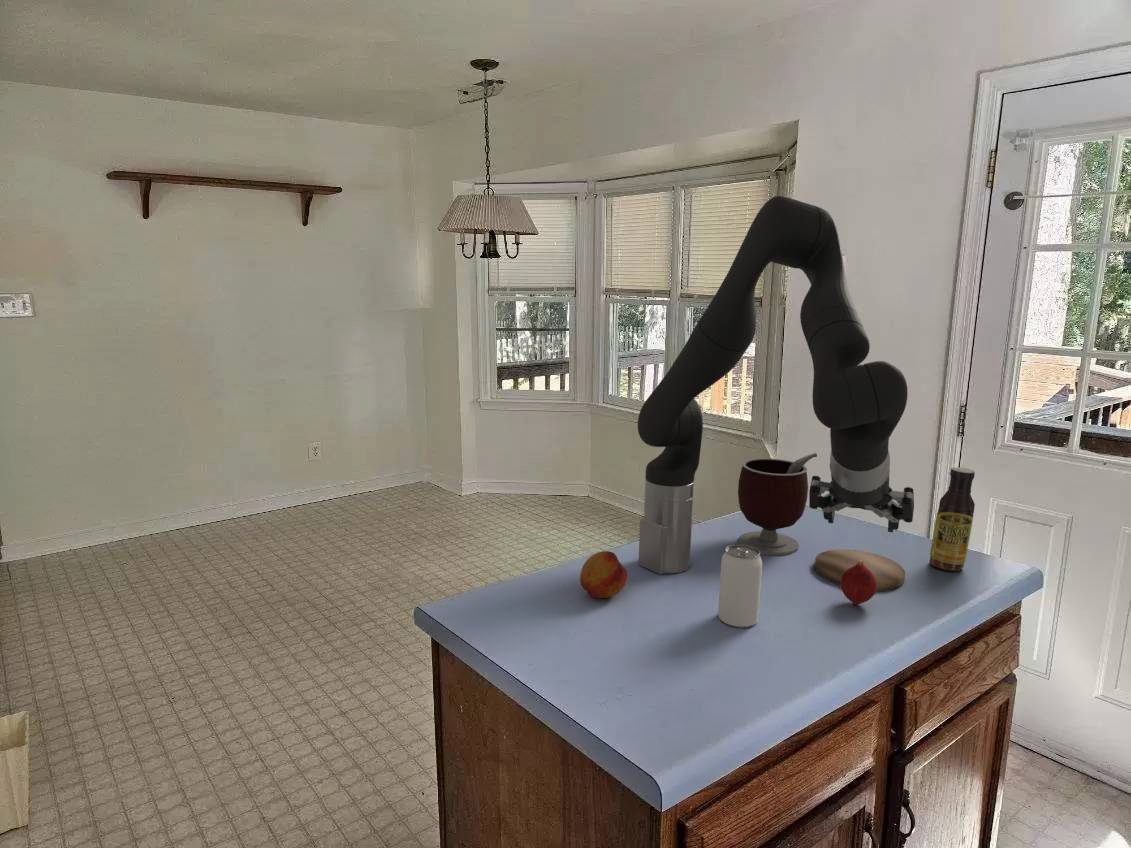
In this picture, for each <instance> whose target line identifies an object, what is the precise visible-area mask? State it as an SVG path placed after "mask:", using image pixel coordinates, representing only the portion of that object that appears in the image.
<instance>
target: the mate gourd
mask: <svg viewBox="0 0 1131 848" xmlns="http://www.w3.org/2000/svg"><path fill="white" fill-rule="evenodd" d="M817 457H818V455H817V452H813V453H810V454H807V455H804V456H803V457H800V458H798V459H796V460H795V461H793V460H792V461H791V460H786V459H780V458H766V457H764V458H763V457H762V458H751V459H747V460H745V461H743V462H742V467H741V469H740V474H739V478H738V488H737V497H738V506H739V509H740V511H741V513H742V515H743V516H744V517H745V519H746V520H747V522H749V523H750V524H753V525H755V526H758V527H760V528H762V530H761V531H759V530H758V531H757V530H755V531H747V532H745V533H742V534H740V535H739V537H738V545H747V546H751V547H754V548H756V549H758V550H759V551H760V555H767V556H776V557H777V556H779V557H780V555H782V556H789V555H793V554H795V553H797V552H798V551H797V550H799V549H798V548H799V547H800V544H799V542H798V540H796V539H795V538H793V537H791V536H789V535H786V534H783V533H778V532H777V530H781V529H784V528H790V527H792V526H794V525H795V524H796V523H797V522H798V521H799V520H800V518H802V516H803V515H804V511H805V509H806V505H807V502H808V501H807V500H808V495H809V481H808V473H807V472H808V469H807V467H806V466H805V465H806V463H808V462H809V461H810V460H811V459H813V458H817ZM796 551H797V552H796ZM794 552H795V553H794ZM792 553H793V554H792Z"/></svg>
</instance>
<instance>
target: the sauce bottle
mask: <svg viewBox="0 0 1131 848" xmlns="http://www.w3.org/2000/svg"><path fill="white" fill-rule="evenodd" d="M949 475H950V479H949V486H948V488H947V489H948V490H947V491H946V492H945V493H944V494H943V495H942V497H941V498H940V500H939V505H938V508H937V509H938V510H937V513H936V516H935V517H936V518H935V522H934V527H933V533H932V541H931V546H930V553H929V563H930V565H931V566H933V567H935V568H937V569H940V570H943V571H947V572H960V571H961V570H962V569H963V568H964V566H965V563H966V559H967V554H968V549H969V543H970V538H971V533H972V526H973V521H974V513H975V506H976V504H975V501H974V499H973V497H972V494H971V493H972V485H973V481H974V479H975V475H976V473H975V470H972V469H969V468H966V467H959V466H955V467H952V468H951V469H950V473H949Z"/></svg>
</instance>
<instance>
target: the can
mask: <svg viewBox="0 0 1131 848" xmlns="http://www.w3.org/2000/svg"><path fill="white" fill-rule="evenodd" d="M762 571H763V560H762V557H761V554H760V551H759V550H758V549H756V548H754V547H751V546H747V545H740V544H732V545H728V546H726V547H725V548H724V553H723V554H722V557H721V563H720V578H719V579H720V580H719V595H718V608H717V609H718V611H717V616H718V618H719V620H720V621H721V622H722V623H723V622H724V623H723V624H725V625H727V626H730V627H734V628H738V627H739V628H740V629H745V628H751V627H753V626H754V625H756V624H757V623H758V620H759V614H760V613H759V611H760V601H761V599H760V598H761V587H762V575H763V572H762ZM739 628H738V629H739Z"/></svg>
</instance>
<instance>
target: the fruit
mask: <svg viewBox="0 0 1131 848" xmlns="http://www.w3.org/2000/svg"><path fill="white" fill-rule="evenodd" d="M579 575H580V576H579V582H580V586H581V587H582V588H583V589H584V590H585V591H586V592H587V593H588V594H589V595H590V596H591V597H593V598H597V599H606V598H611V597H613V596H616V595H617V594H619V593H620V592H622V590H623V589H624V587H625V586H626V582H627V580H628V577H629V576H628V570H627V569H626V568H625V567H624V566H623V564H622V562H620V561H619V559H618V557H617V555H616V553H614V552H612V551H608V550H607V551H599V552H596V553H594V554H593V555H591V556H589V557H588V559H587V560H586V561H585V562H584V564H583V565H582V567H581V571H580V574H579Z"/></svg>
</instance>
